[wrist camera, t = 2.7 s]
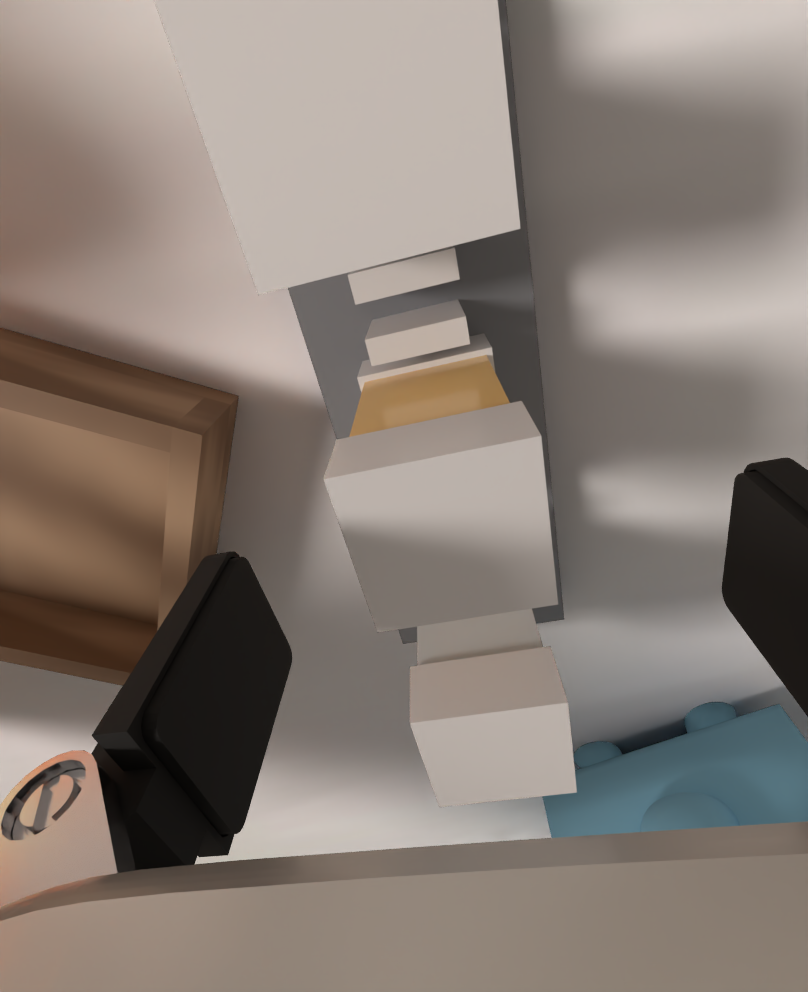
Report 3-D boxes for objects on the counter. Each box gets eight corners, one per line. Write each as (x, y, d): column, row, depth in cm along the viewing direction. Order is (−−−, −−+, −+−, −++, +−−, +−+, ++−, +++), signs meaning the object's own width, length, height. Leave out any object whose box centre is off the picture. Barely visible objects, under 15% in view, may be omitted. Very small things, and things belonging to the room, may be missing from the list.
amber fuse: (500, 445, 19) (558, 604, 12) (391, 467, 20) (377, 632, 12) (484, 333, 17) (541, 436, 10) (362, 361, 18) (323, 479, 10)
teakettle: (494, 820, 36) (538, 1153, 23) (595, 641, 27) (759, 1033, 14) (733, 851, 38) (895, 1177, 25) (907, 691, 28) (1305, 1084, 16)
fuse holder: (556, 598, 25) (582, 669, 21) (403, 622, 26) (401, 694, 22) (490, -52, 14) (520, -156, 10) (220, 36, 15) (150, -25, 11)
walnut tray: (205, 633, 27) (174, 696, 24) (-75, 571, 25) (-153, 629, 22) (238, 396, 20) (202, 434, 17) (-141, 287, 18) (-270, 305, 15)
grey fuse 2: (522, 597, 23) (576, 792, 16) (430, 612, 24) (439, 807, 16) (511, 521, 21) (567, 702, 13) (411, 539, 22) (409, 723, 14)
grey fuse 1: (467, 218, 16) (520, 228, 8) (332, 253, 16) (257, 295, 8) (440, 36, 13) (477, -199, 6) (287, 83, 14) (128, -72, 6)
